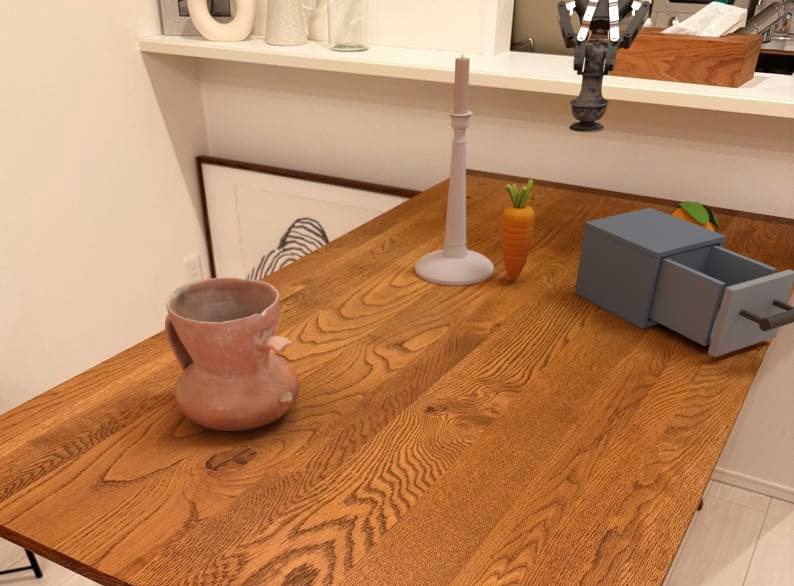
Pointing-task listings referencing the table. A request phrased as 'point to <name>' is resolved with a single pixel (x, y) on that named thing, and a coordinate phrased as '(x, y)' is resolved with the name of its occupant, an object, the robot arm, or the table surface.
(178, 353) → the ceramic jug
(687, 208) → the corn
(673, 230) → the cabinet
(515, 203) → the carrot
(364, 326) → the table surface
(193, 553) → the table surface
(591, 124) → the salt shaker
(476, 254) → the candlestick
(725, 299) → the drawer
